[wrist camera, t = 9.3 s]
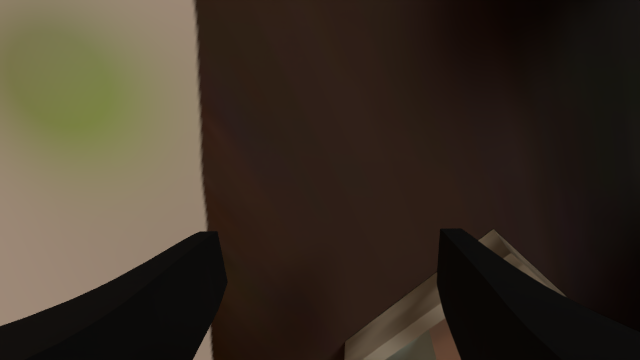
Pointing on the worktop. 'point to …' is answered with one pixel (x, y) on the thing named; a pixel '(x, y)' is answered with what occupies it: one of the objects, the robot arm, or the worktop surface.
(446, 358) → the terracotta cube
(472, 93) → the worktop surface
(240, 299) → the worktop surface
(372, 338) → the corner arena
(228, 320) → the worktop surface
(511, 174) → the worktop surface
